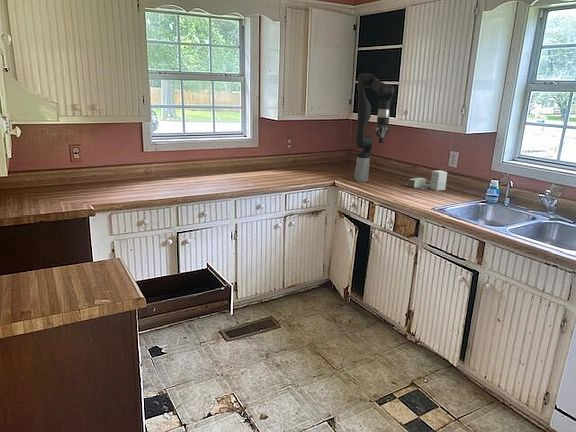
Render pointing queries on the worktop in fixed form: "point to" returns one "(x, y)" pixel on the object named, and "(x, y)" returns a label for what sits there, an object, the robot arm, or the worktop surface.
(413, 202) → the worktop surface
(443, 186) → the supplement box
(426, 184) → the mat
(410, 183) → the block
